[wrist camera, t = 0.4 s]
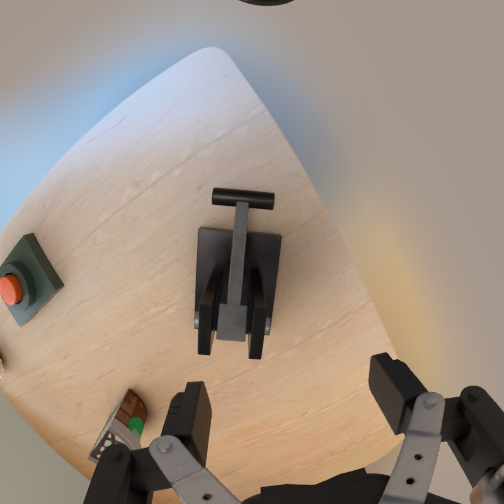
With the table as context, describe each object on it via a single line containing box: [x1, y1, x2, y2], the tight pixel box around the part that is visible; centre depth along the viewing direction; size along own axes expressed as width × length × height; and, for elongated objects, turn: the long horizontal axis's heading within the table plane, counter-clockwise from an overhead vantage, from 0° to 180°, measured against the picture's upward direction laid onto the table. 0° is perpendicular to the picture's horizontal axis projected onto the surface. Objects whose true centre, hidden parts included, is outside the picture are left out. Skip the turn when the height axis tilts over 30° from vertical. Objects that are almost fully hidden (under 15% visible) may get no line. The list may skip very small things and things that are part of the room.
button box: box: [0, 233, 64, 327], centre depth 31 cm, size 12×9×4 cm
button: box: [0, 274, 23, 305], centre depth 29 cm, size 4×4×2 cm
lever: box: [212, 188, 275, 342], centre depth 24 cm, size 13×6×2 cm, turn 174°
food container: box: [87, 389, 147, 464], centre depth 33 cm, size 12×6×10 cm, turn 143°
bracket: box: [194, 227, 282, 359], centre depth 28 cm, size 12×9×13 cm
